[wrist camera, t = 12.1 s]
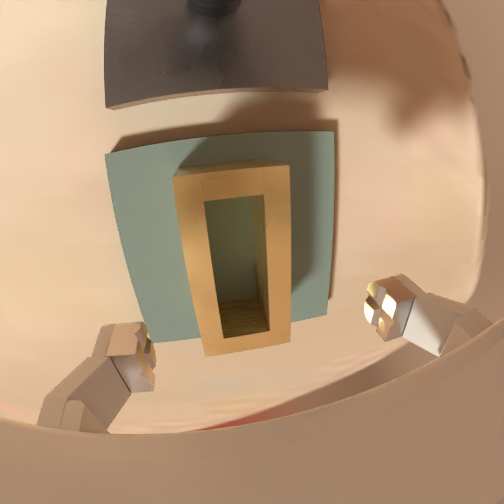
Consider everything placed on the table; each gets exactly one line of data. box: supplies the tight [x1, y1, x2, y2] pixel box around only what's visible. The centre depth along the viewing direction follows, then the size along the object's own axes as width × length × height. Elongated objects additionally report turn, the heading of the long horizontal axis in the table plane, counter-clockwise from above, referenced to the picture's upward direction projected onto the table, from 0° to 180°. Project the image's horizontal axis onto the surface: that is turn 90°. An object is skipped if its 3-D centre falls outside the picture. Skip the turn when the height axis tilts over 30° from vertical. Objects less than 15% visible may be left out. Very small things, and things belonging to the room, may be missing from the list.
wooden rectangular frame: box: [172, 158, 291, 357], centre depth 15 cm, size 10×5×4 cm, turn 3°
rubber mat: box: [105, 131, 335, 343], centre depth 17 cm, size 13×13×1 cm
